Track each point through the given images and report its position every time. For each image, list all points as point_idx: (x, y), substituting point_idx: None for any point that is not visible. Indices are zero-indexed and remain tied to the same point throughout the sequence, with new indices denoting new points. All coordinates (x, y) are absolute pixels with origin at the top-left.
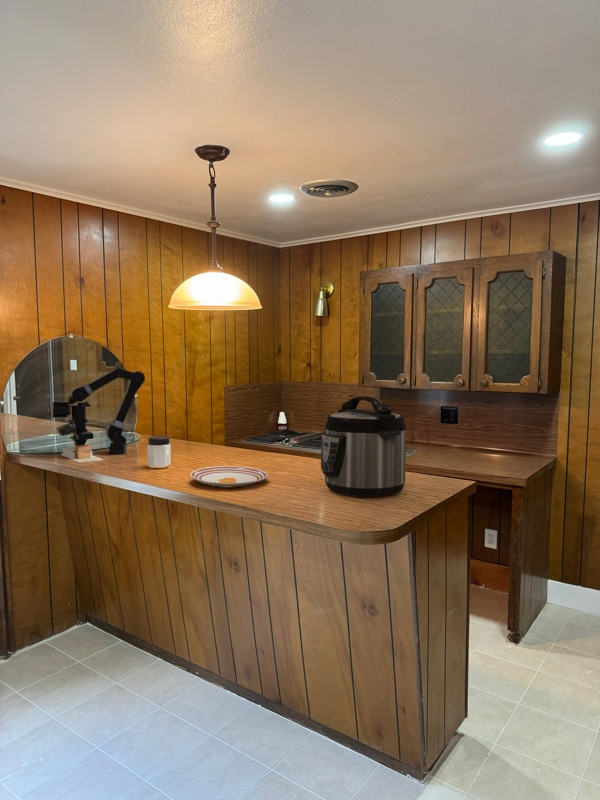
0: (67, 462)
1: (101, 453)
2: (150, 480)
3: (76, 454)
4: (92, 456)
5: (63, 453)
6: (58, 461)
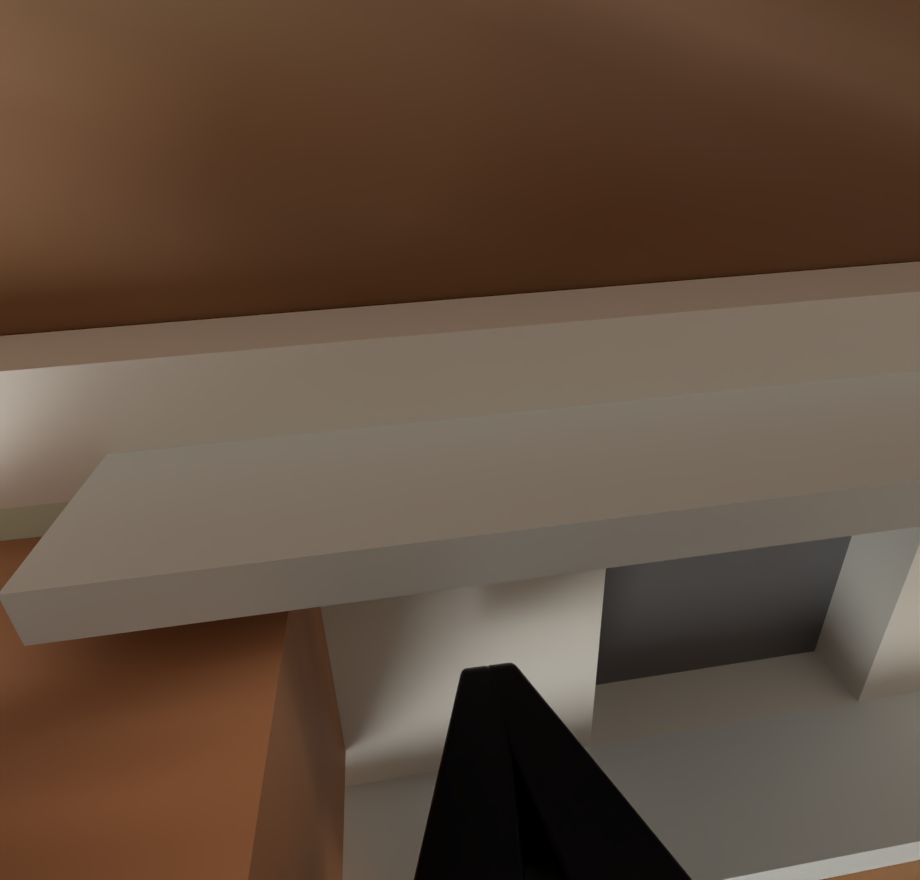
0: (161, 234)
1: None
2: None
3: None
4: None
5: None
6: (503, 15)
